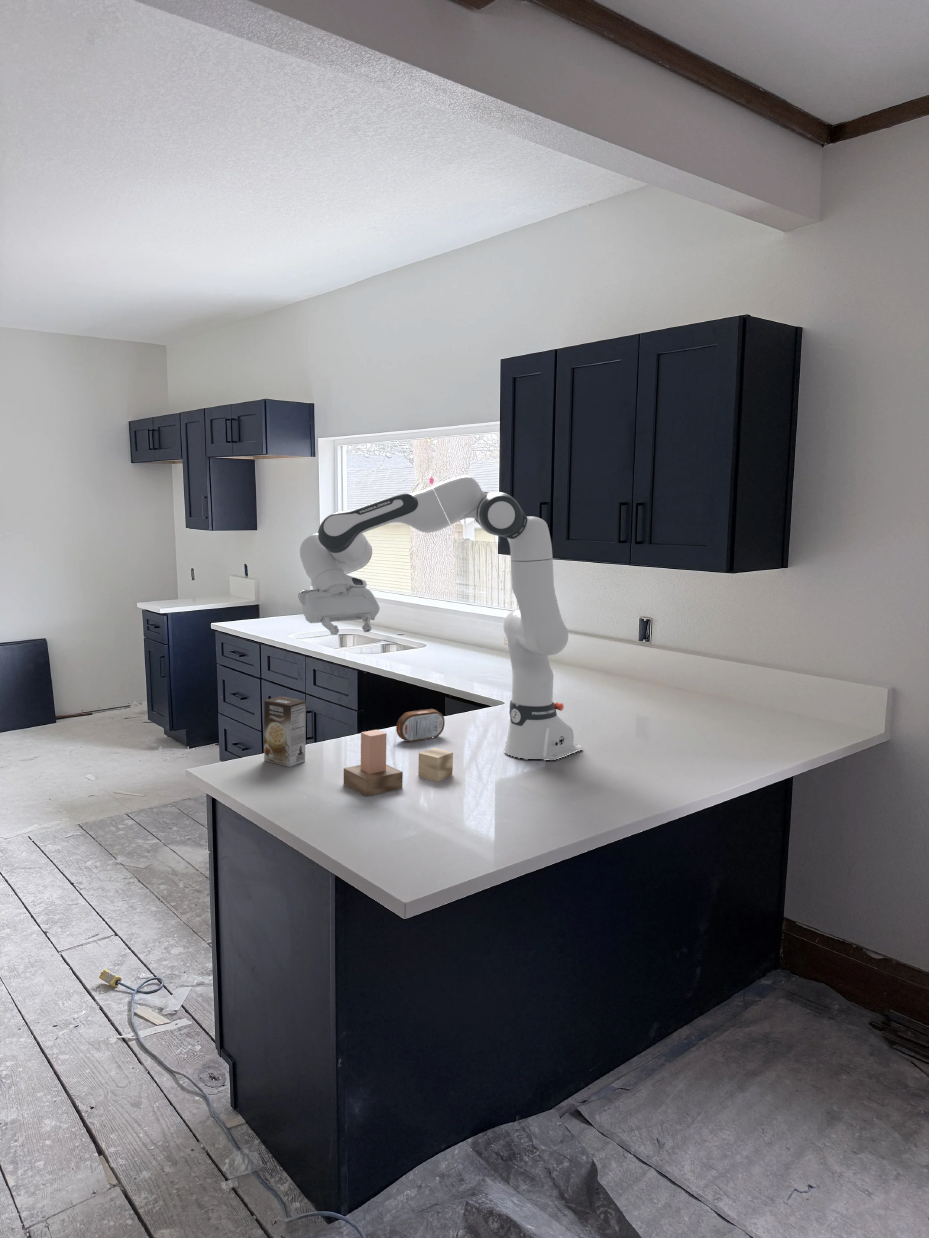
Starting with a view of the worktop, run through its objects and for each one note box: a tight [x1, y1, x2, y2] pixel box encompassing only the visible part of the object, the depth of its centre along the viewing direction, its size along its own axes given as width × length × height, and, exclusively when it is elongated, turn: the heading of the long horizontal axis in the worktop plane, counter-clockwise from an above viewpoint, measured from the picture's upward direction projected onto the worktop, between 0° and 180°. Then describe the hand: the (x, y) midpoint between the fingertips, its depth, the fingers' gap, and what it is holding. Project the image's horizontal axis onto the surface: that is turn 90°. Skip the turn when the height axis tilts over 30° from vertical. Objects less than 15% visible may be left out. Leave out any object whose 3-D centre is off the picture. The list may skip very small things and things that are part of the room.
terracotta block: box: [360, 729, 387, 774], centre depth 200 cm, size 4×4×9 cm
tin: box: [395, 708, 446, 743], centre depth 241 cm, size 15×3×8 cm, turn 125°
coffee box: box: [263, 695, 307, 768], centre depth 217 cm, size 9×6×16 cm
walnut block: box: [343, 763, 404, 797], centre depth 200 cm, size 10×10×4 cm
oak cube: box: [417, 747, 454, 782], centre depth 209 cm, size 6×6×6 cm
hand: (352, 632), depth 211 cm, fingers open, 8 cm apart
